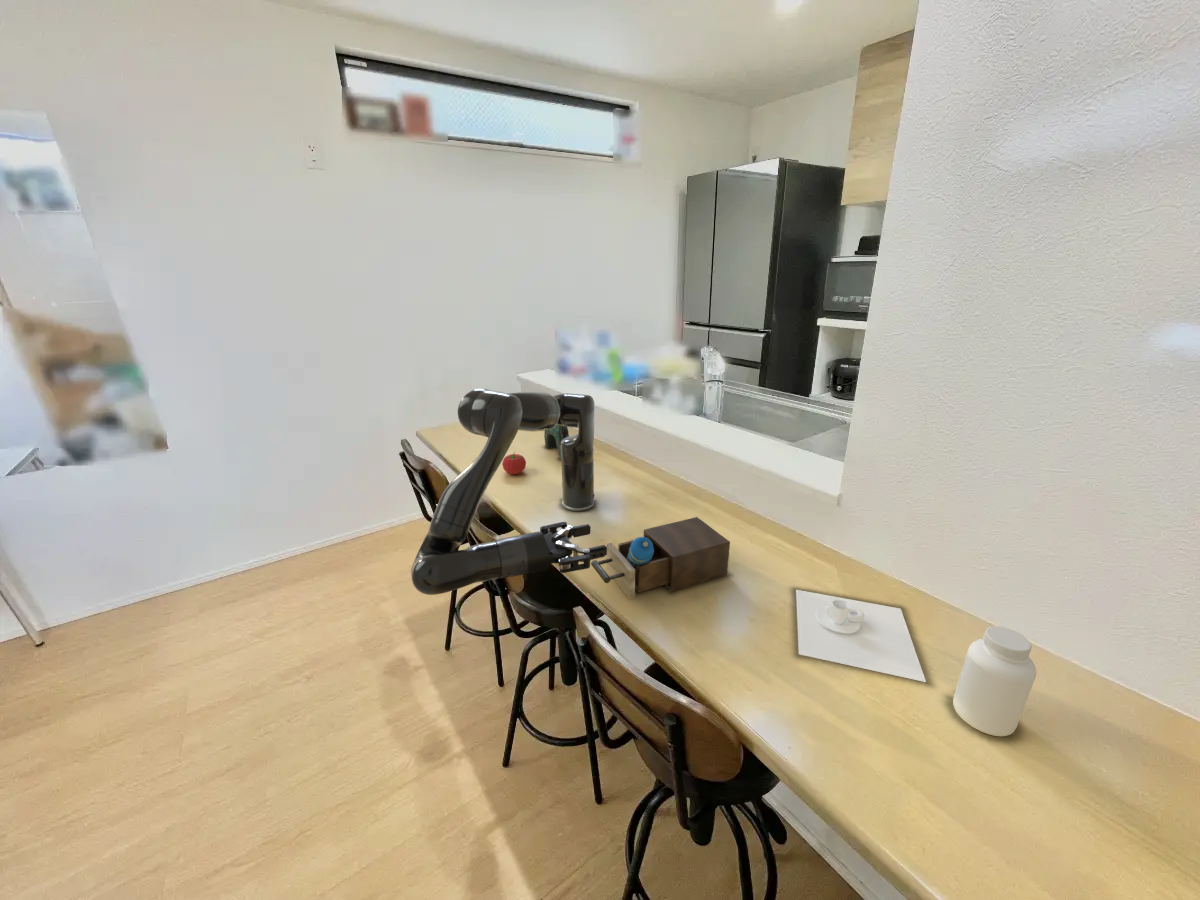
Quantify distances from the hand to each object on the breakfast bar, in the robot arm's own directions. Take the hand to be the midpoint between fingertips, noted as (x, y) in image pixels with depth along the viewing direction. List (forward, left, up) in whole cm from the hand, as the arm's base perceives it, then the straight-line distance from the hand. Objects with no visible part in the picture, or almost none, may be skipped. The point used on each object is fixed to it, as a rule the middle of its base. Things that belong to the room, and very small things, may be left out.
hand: (597, 539), depth 101 cm
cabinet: (0, +22, -13) cm, 25 cm away
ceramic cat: (-85, +21, -13) cm, 88 cm away
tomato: (-72, +1, -13) cm, 73 cm away
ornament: (-3, +9, -11) cm, 14 cm away
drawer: (0, +9, -12) cm, 15 cm away
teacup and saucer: (+31, +40, -13) cm, 52 cm away
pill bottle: (+53, +42, -13) cm, 69 cm away
